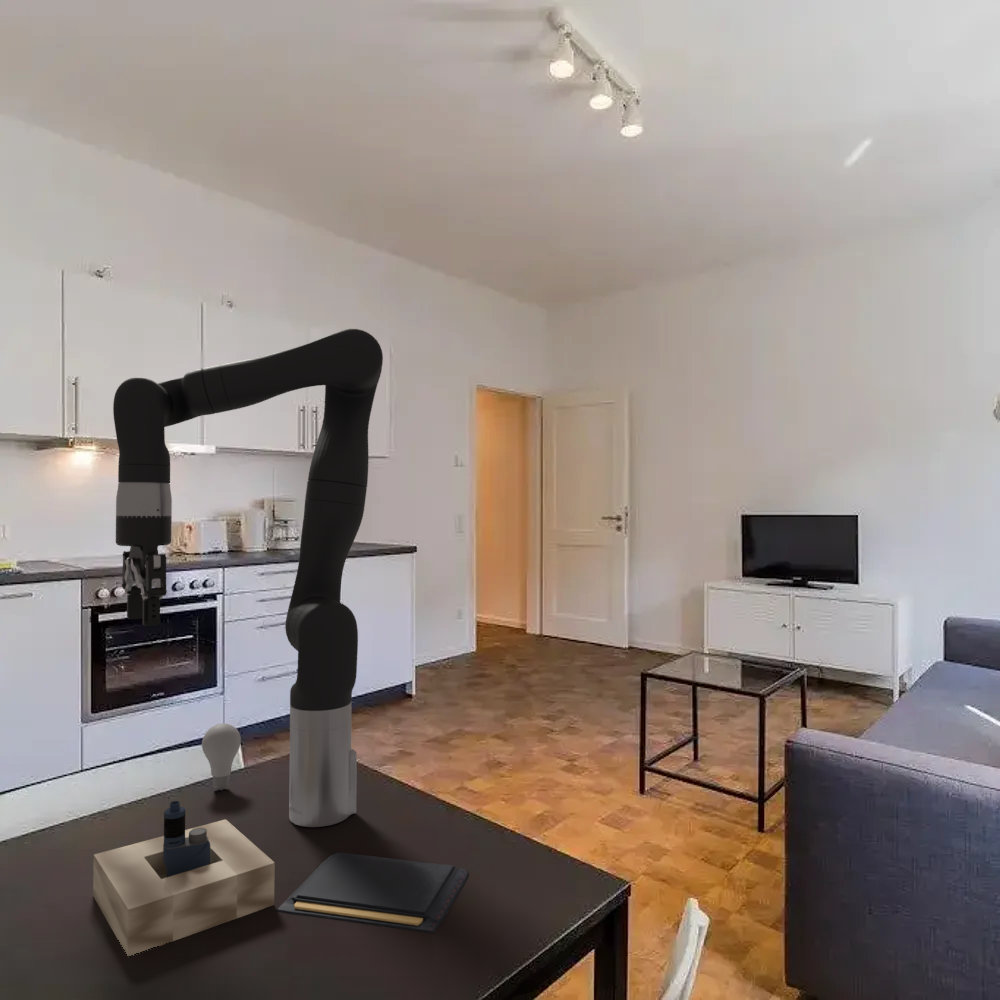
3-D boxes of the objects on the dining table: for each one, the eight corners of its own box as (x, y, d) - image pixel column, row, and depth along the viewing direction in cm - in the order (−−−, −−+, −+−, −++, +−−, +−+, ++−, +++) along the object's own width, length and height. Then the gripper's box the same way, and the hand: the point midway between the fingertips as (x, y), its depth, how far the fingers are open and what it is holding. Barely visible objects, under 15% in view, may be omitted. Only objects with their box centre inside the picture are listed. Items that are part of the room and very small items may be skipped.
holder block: (225, 856, 100) (225, 819, 100) (274, 904, 88) (274, 862, 88) (93, 896, 90) (93, 854, 90) (127, 957, 77) (128, 909, 77)
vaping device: (162, 900, 89) (163, 800, 89) (209, 892, 91) (210, 794, 91) (161, 911, 86) (162, 808, 86) (209, 902, 88) (210, 801, 88)
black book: (472, 861, 96) (432, 925, 81) (472, 876, 96) (432, 942, 81) (333, 843, 101) (272, 900, 87) (333, 857, 101) (271, 916, 87)
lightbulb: (227, 798, 120) (227, 730, 120) (193, 795, 121) (194, 728, 121) (247, 784, 126) (248, 720, 126) (215, 782, 127) (215, 717, 127)
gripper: (185, 513, 107) (184, 625, 107) (156, 513, 118) (155, 614, 118) (129, 514, 102) (128, 631, 102) (104, 513, 113) (103, 619, 113)
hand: (143, 622), depth 110 cm, fingers open, 8 cm apart
